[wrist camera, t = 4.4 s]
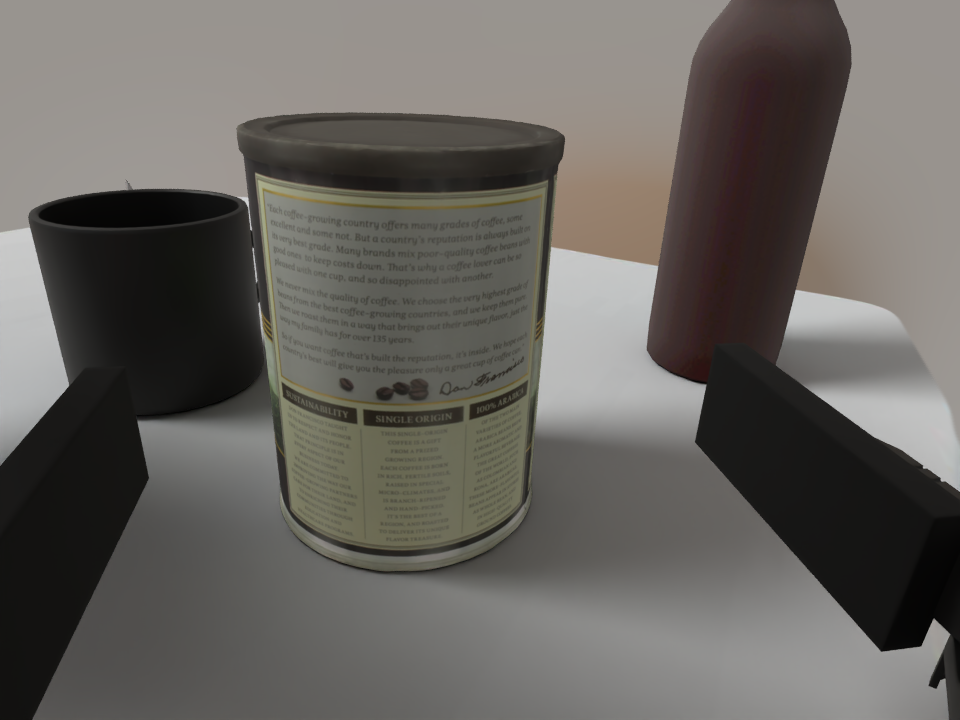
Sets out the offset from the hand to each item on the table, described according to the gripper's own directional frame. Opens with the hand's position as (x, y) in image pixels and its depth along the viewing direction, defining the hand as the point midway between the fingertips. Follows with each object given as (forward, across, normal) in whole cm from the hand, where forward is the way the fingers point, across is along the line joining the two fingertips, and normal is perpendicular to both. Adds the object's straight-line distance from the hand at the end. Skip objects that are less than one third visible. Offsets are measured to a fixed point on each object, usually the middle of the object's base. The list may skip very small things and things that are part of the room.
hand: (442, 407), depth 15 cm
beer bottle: (+20, +19, -9) cm, 29 cm away
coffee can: (+9, 0, -9) cm, 13 cm away
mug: (+22, -11, -9) cm, 26 cm away
